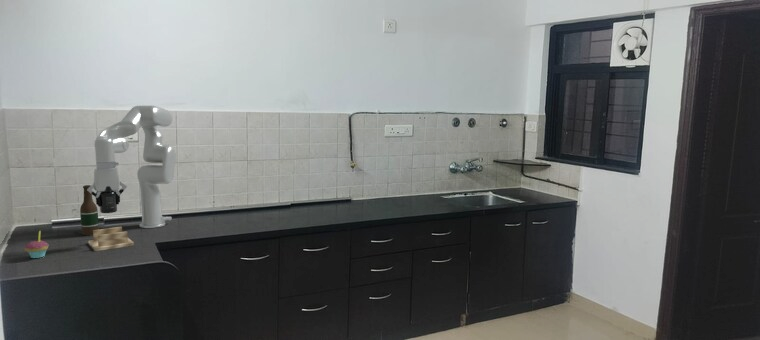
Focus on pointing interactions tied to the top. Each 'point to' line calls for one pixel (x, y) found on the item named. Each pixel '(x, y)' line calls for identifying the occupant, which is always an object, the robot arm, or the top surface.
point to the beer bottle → (88, 214)
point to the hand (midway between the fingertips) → (108, 204)
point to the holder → (110, 239)
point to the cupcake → (36, 248)
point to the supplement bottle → (108, 201)
